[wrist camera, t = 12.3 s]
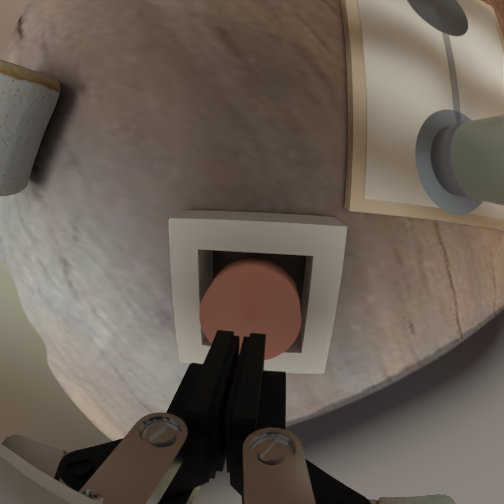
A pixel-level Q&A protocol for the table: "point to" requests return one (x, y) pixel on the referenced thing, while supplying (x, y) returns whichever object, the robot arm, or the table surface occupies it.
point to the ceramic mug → (22, 122)
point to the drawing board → (417, 101)
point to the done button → (253, 304)
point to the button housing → (258, 241)
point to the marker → (471, 159)
